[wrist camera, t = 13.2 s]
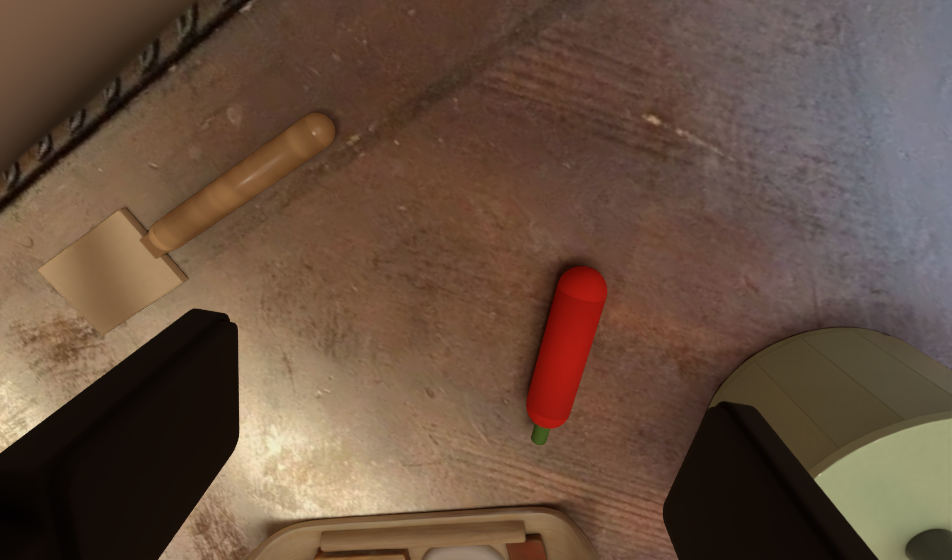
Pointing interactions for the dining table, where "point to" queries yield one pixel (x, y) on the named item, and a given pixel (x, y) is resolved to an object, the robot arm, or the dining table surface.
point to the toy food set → (434, 537)
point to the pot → (837, 388)
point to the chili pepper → (565, 348)
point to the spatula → (169, 233)
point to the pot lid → (896, 487)
